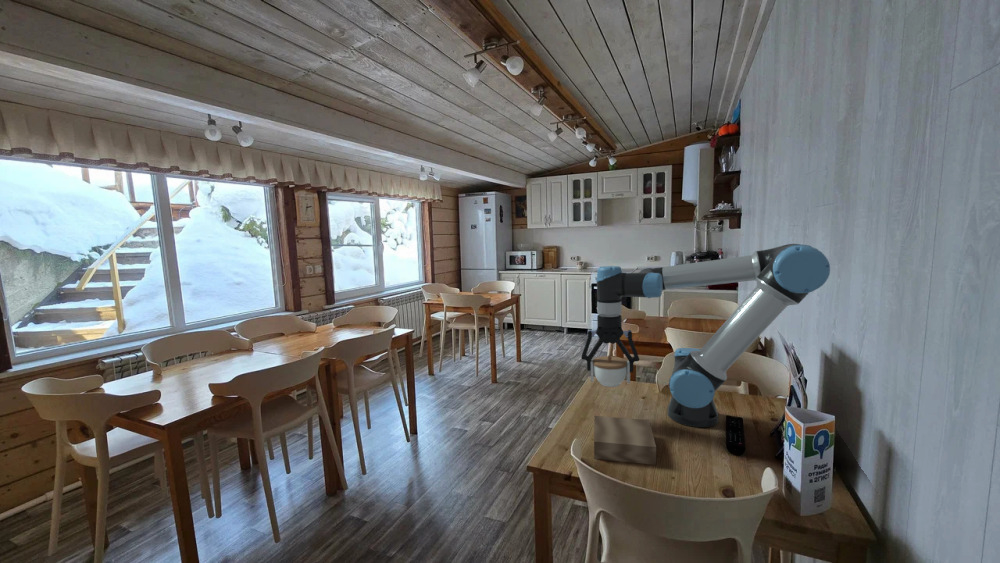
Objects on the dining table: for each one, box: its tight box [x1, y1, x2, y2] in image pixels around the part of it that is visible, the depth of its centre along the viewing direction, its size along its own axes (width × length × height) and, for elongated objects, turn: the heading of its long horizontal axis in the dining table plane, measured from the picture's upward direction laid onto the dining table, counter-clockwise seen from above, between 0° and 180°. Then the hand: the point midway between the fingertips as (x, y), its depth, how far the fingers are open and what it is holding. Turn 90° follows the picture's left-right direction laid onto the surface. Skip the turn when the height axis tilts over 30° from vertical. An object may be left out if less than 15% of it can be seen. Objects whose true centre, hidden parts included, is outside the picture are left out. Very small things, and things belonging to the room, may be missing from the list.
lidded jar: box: [592, 355, 628, 388], centre depth 132 cm, size 11×11×9 cm
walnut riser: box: [593, 415, 657, 466], centre depth 117 cm, size 16×16×5 cm
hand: (610, 380), depth 133 cm, fingers closed on lidded jar, 11 cm apart
